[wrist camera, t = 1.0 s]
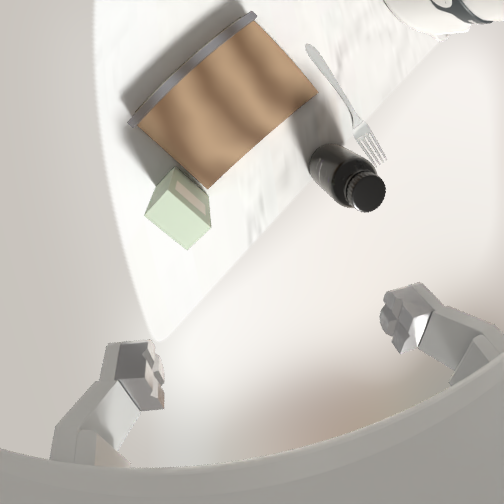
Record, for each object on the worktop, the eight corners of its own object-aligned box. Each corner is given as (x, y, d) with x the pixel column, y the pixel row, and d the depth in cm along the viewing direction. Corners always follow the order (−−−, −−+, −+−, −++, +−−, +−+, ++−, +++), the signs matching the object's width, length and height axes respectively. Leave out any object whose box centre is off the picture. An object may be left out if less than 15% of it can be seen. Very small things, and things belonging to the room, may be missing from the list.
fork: (302, 23, 30) (306, 20, 29) (383, 155, 42) (389, 158, 41) (284, 33, 31) (287, 30, 29) (369, 166, 43) (374, 169, 41)
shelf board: (245, 16, 29) (250, 9, 25) (314, 92, 35) (325, 93, 32) (133, 118, 33) (125, 121, 30) (207, 185, 40) (208, 195, 37)
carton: (175, 165, 38) (168, 189, 30) (208, 196, 41) (211, 227, 33) (155, 186, 39) (143, 216, 31) (189, 215, 42) (187, 250, 34)
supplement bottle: (298, 160, 40) (332, 188, 30) (335, 133, 39) (379, 153, 29) (322, 195, 44) (358, 230, 34) (356, 169, 42) (400, 198, 32)
